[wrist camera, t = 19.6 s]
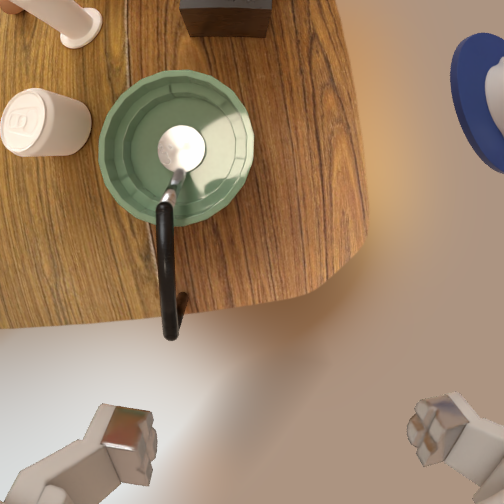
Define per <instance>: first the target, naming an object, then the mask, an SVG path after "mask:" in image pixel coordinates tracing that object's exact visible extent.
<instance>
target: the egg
mask: <svg viewBox="0 0 504 504" xmlns="http://www.w3.org/2000/svg"><path fill="white" fill-rule="evenodd" d="M0 7H1V9H2V10H3V11H4V12H5V13H7V14H17V13H19V12H21V11H23V10H24V9H23V8H21V7H19V6H18V5H16V4H14V3H13V2H11V1H9V0H0Z"/></svg>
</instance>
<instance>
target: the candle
mask: <svg viewBox="0 0 504 504" xmlns="http://www.w3.org/2000/svg"><path fill="white" fill-rule="evenodd" d="M9 1H11V2H13V3H14V4H16V5H18V6H19V7H21V8H23V9H24V10H26V11H27V12H29V13H31V14H32V15H34V16H36V17H37V18H39V19H40V20H42V21H44V22H45V23H47V24H48V25H50V26H51V27H53V28H54V29H56V30H58V31H59V32H61V34H60V38H61V41H62V43H63V44H64V45H65V46H66V47H68V48H72V49H76V48H80V47H83V46H85V45H87V44H88V43H89V42H91V41H92V40H93V39H94V38H95V37H96V36H97V34H98V33H99V31H100V29H101V26H102V16H101V14H100V12H99V11H98V10H96V9H94V8H84V9H82V8H81V7H80V6H79V5H78V4H77V3H76V2H75V1H74V0H9Z"/></svg>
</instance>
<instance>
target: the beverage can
mask: <svg viewBox="0 0 504 504" xmlns="http://www.w3.org/2000/svg"><path fill="white" fill-rule="evenodd" d="M90 131H91V115H90V112H89V110H88V108H87V107H86V106H85V105H84V104H83V103H82V102H80V101H78V100H75V99H72V98H69V97H66V96H63V95H59V94H56V93H53V92H50V91H47V90H44V89H40V88H31V89H28V90H26V91H22V92H20V93H18V94H17V95H15V96H14V97H13V98H12V99H11V100H10V101H9V103H8V104H7V106H6V108H5V110H4V112H3V115H2V118H1V123H0V134H1V139H2V141H3V144H4V145H5V147H6V148H7V149H8V150H10V151H11V152H13V153H14V154H16V155H18V156H22V157H29V156H67V155H71V154H73V153H75V152H77V151H78V150H79V149H80V148H81V147H82V146H83V145H84V144H85V142H86V141H87V139H88V137H89V134H90Z"/></svg>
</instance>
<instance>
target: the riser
mask: <svg viewBox="0 0 504 504" xmlns="http://www.w3.org/2000/svg"><path fill="white" fill-rule="evenodd" d="M179 10H180V12H181V15H182V17H183V20H184V22H185V25H186V27H187V30H188V33H189V35H190V37H205V36H232V37H258V38H265V36H266V32H267V28H268V23H269V19H270V15H271V11H272V0H180V7H179Z"/></svg>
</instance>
